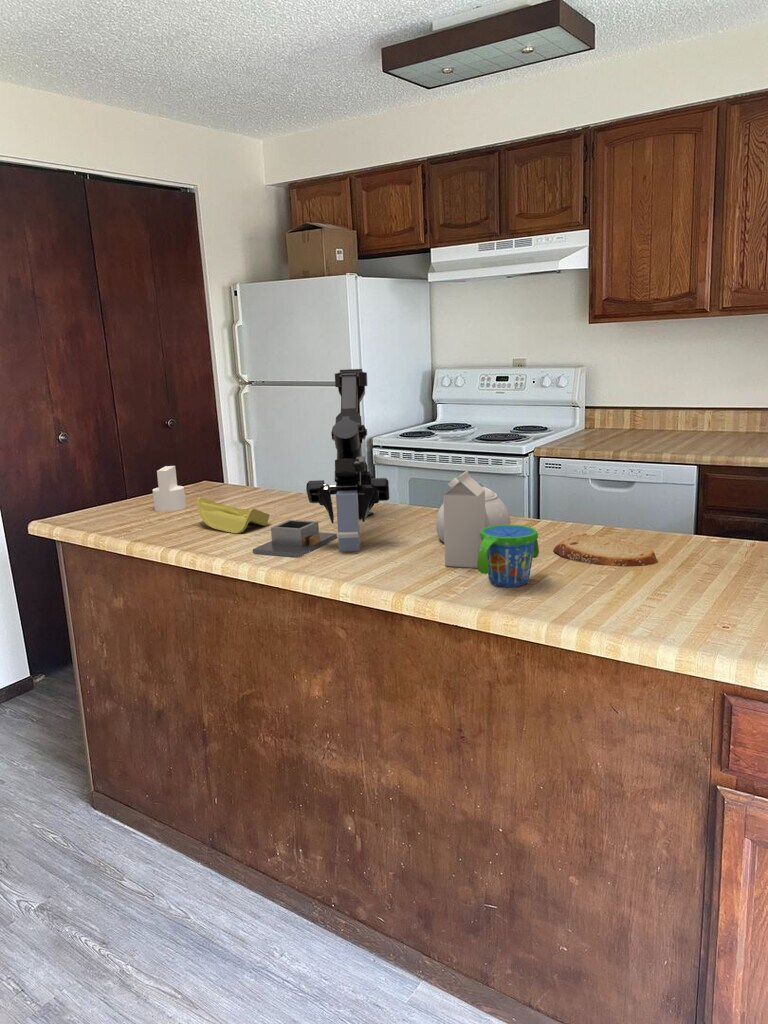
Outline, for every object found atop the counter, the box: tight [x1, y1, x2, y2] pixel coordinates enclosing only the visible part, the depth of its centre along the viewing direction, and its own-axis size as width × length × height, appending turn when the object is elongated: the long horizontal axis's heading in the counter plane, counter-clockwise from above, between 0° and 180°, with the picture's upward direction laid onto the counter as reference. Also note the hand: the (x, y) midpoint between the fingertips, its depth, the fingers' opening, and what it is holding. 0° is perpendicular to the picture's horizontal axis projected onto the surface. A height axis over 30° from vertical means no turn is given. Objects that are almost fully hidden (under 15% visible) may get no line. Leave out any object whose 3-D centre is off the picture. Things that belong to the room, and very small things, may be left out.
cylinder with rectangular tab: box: [152, 465, 187, 513], centre depth 229 cm, size 9×9×12 cm
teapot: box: [435, 481, 511, 543], centre depth 179 cm, size 19×18×14 cm
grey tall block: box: [335, 490, 361, 553], centre depth 175 cm, size 9×4×13 cm, turn 178°
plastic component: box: [196, 496, 271, 534], centre depth 204 cm, size 20×7×10 cm
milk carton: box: [442, 469, 485, 569], centre depth 160 cm, size 7×7×19 cm
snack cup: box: [476, 524, 540, 588], centre depth 147 cm, size 16×10×10 cm
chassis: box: [252, 519, 338, 558], centre depth 181 cm, size 18×12×5 cm, turn 155°
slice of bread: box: [552, 533, 658, 567], centre depth 162 cm, size 18×18×4 cm
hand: (347, 521), depth 174 cm, fingers open, 7 cm apart
